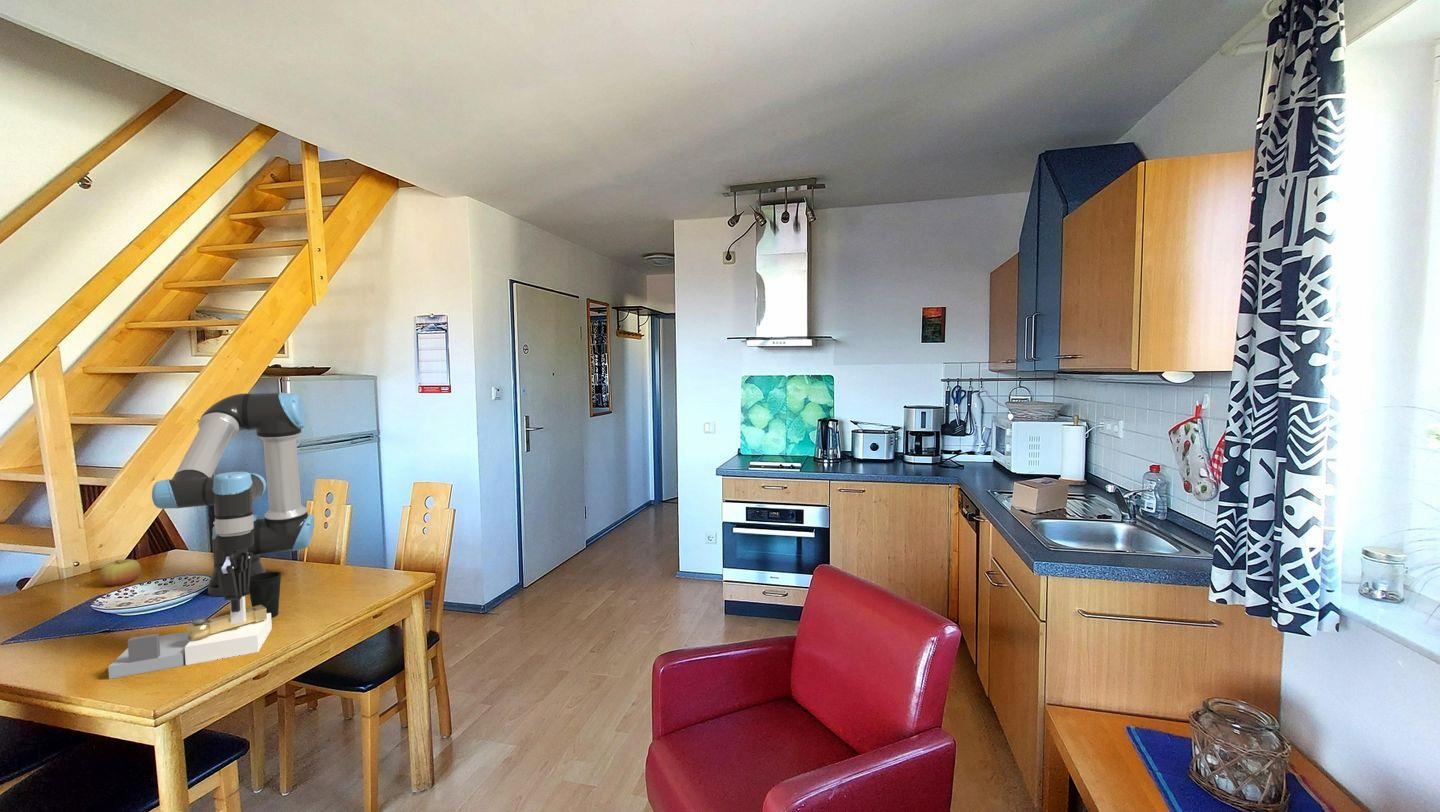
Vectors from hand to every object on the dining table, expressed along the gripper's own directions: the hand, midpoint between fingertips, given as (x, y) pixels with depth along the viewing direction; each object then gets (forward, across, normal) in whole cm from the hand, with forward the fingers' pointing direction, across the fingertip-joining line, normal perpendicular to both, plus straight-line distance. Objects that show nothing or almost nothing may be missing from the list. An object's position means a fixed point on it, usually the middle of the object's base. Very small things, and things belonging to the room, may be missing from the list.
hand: (238, 622), depth 148 cm
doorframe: (+6, 0, -9) cm, 11 cm away
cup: (+6, -20, -2) cm, 21 cm away
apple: (+6, -66, -59) cm, 89 cm away
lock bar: (+1, -1, -3) cm, 3 cm away
